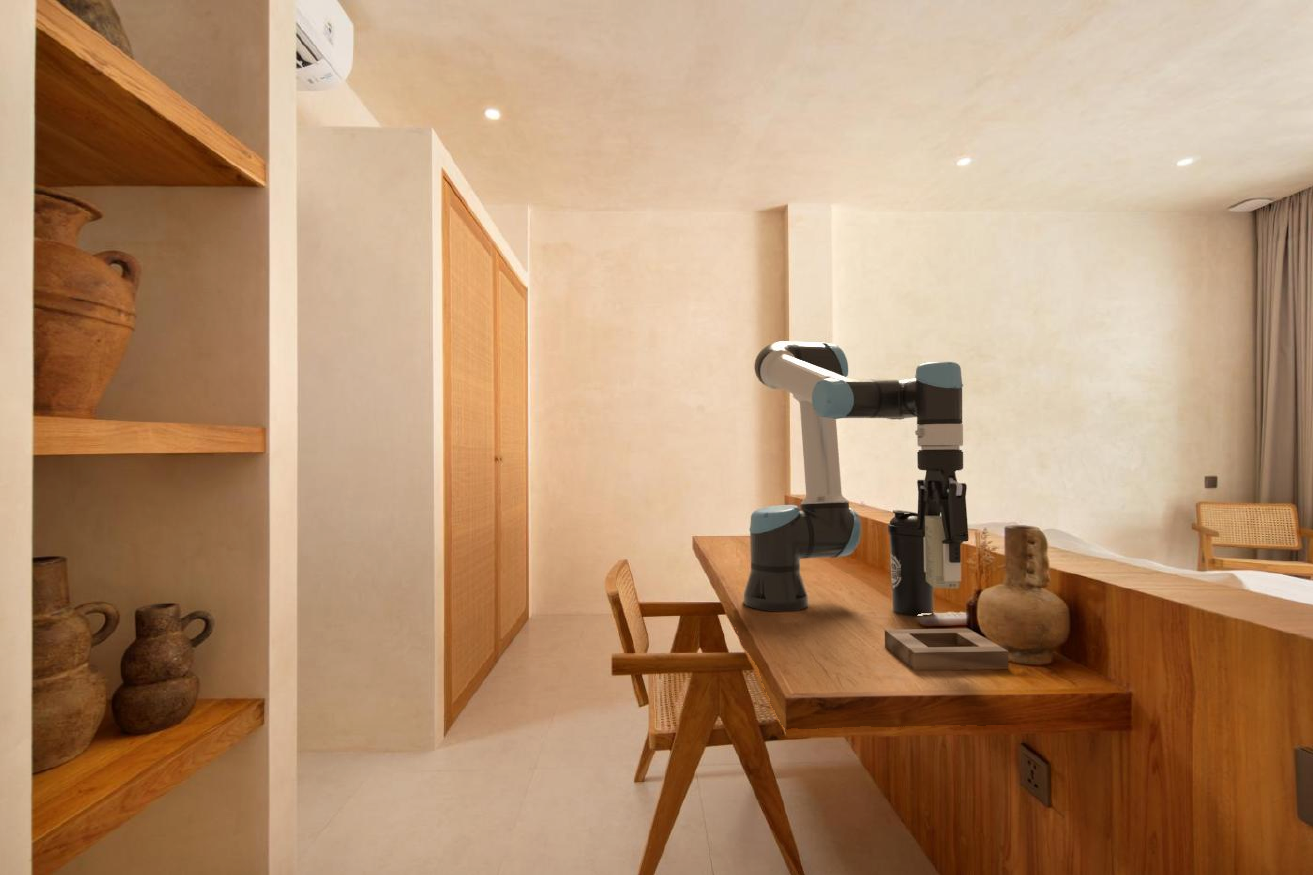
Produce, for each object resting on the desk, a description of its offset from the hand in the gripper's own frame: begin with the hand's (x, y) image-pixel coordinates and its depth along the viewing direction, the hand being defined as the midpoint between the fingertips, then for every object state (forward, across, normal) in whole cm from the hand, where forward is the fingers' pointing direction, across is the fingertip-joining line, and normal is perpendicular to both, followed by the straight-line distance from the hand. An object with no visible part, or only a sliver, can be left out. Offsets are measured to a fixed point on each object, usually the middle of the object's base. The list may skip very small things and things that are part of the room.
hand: (941, 576), depth 111 cm
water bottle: (+15, -30, +8) cm, 35 cm away
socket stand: (+14, 0, 0) cm, 14 cm away
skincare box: (+2, 0, 0) cm, 2 cm away
